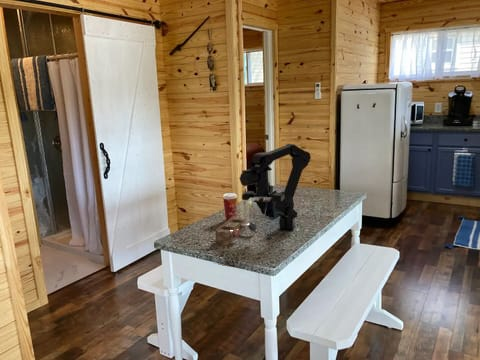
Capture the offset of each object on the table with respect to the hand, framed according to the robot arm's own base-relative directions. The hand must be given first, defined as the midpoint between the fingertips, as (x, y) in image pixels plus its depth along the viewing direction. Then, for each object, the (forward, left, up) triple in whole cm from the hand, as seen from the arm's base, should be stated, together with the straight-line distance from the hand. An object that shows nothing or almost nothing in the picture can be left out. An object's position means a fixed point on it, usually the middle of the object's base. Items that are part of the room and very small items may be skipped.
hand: (264, 214), depth 181 cm
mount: (+15, +5, -11) cm, 19 cm away
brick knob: (+13, +10, -9) cm, 18 cm away
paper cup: (+25, -16, -11) cm, 32 cm away
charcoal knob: (+9, 0, -9) cm, 13 cm away
